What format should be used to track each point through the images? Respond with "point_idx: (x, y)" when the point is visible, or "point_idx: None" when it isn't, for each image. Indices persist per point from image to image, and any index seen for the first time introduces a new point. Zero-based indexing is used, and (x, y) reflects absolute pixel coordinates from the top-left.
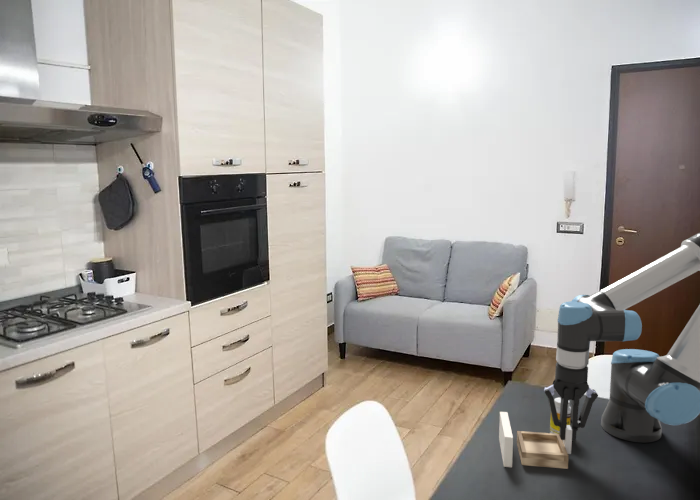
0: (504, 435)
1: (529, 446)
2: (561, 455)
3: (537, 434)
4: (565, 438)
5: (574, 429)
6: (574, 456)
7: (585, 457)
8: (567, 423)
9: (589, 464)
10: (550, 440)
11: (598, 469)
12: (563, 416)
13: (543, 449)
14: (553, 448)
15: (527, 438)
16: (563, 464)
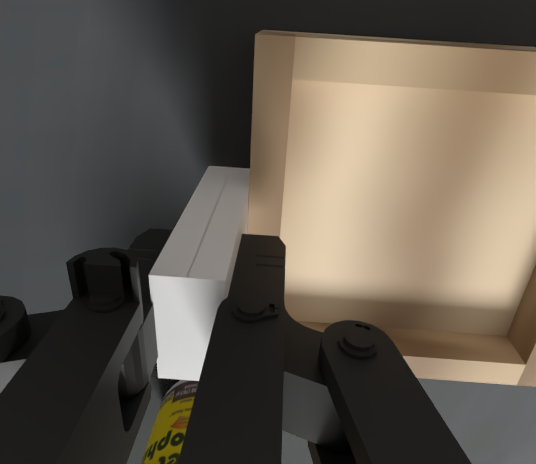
0: None
1: (497, 238)
2: (321, 37)
3: (407, 354)
4: (239, 230)
5: (116, 261)
6: (181, 203)
7: (113, 197)
8: (167, 459)
9: (97, 111)
10: (311, 319)
11: (41, 47)
12: (252, 459)
13: (405, 204)
14: (323, 224)
15: (463, 333)
16: (296, 33)
